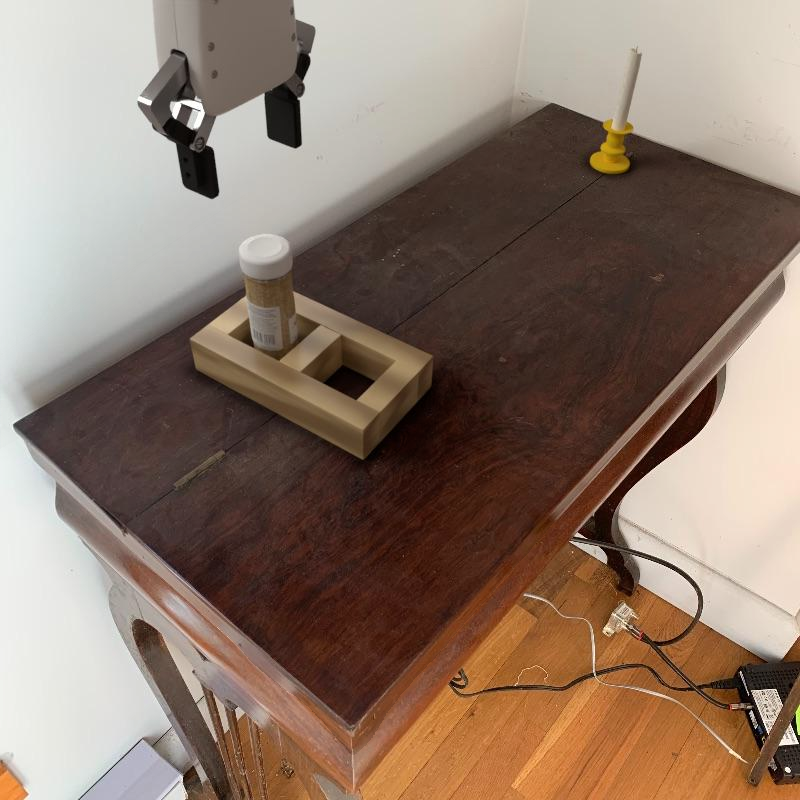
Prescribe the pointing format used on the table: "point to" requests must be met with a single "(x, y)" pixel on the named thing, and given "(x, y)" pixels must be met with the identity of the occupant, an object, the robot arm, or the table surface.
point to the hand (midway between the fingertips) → (245, 166)
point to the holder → (318, 373)
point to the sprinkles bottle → (270, 293)
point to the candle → (619, 123)
